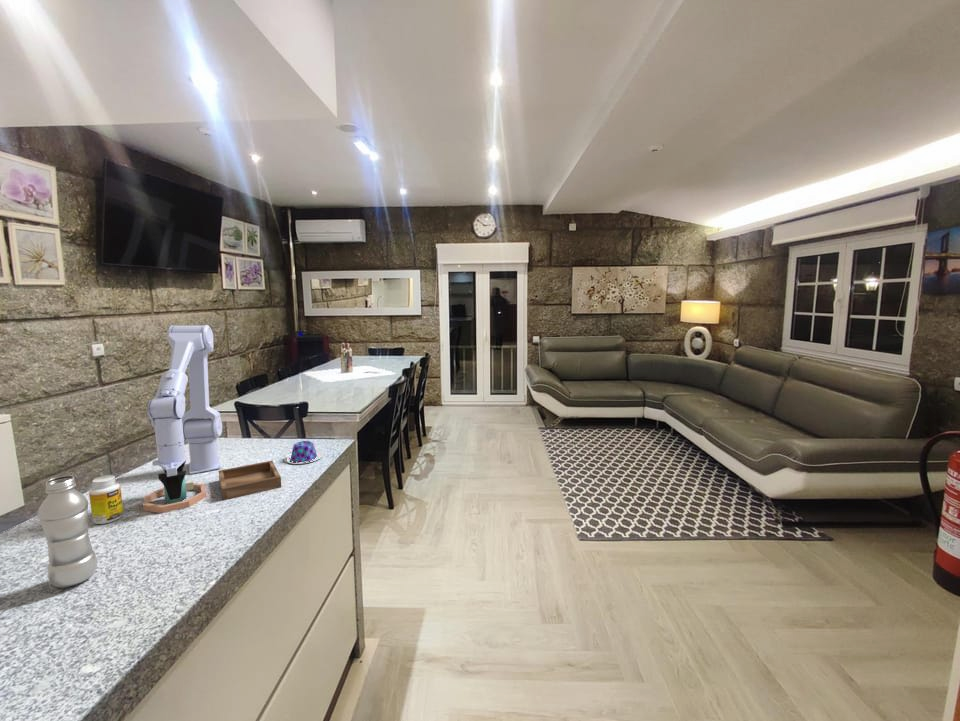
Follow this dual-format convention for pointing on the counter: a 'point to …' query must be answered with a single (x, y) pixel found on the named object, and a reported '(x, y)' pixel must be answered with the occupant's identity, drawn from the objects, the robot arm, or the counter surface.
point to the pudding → (304, 452)
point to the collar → (173, 506)
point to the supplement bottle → (105, 500)
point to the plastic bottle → (66, 533)
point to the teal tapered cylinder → (185, 487)
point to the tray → (249, 479)
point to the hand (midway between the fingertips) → (175, 492)
